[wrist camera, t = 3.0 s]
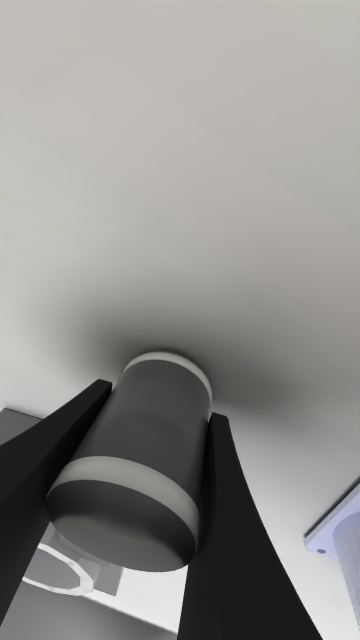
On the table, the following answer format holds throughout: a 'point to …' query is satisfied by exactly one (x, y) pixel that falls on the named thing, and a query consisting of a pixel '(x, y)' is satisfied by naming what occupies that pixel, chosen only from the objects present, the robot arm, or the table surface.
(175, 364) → the lens
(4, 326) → the table surface
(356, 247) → the table surface
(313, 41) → the table surface
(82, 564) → the camera body
